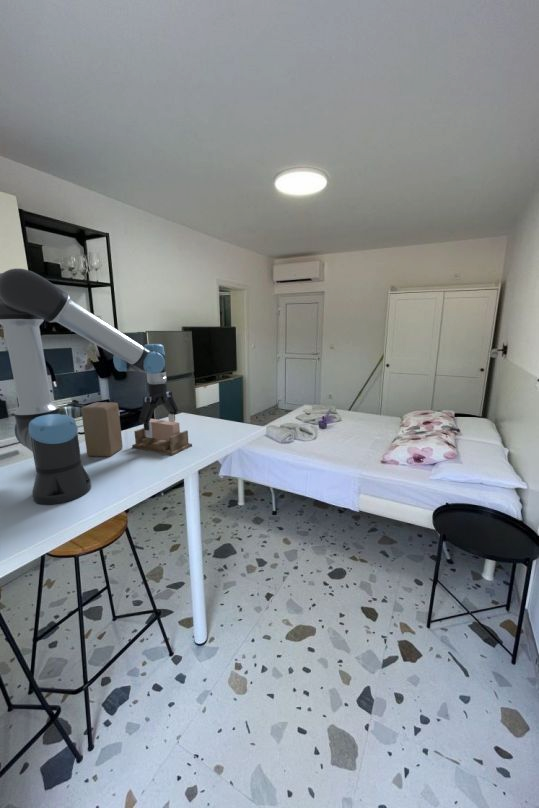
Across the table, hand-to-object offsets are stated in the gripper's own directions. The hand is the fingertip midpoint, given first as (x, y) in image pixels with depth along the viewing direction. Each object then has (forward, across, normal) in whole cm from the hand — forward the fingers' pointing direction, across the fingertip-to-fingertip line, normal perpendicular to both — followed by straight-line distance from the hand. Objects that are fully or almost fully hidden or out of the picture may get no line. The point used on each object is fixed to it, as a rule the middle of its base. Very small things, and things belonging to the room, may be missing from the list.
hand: (161, 432), depth 140 cm
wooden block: (+6, -15, +16) cm, 23 cm away
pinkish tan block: (+2, 0, 0) cm, 2 cm away
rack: (+6, 0, 0) cm, 6 cm away
